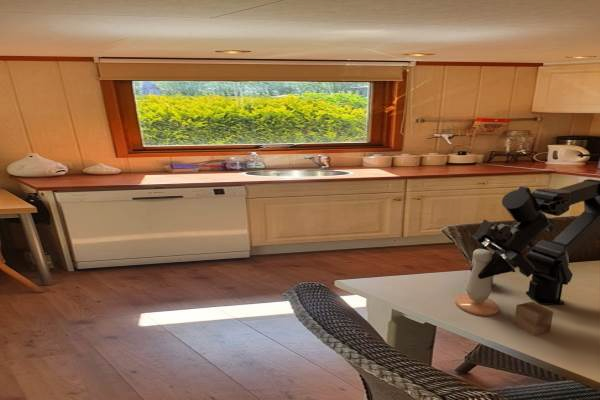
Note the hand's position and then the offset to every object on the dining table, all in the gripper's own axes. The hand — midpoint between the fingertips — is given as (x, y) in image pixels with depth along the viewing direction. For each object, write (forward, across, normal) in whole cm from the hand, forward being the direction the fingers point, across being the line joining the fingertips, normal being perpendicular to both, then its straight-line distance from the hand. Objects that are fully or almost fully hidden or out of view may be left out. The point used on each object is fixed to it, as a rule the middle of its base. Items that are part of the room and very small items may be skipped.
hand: (475, 274), depth 91 cm
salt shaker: (+4, 0, +6) cm, 7 cm away
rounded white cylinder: (0, -14, +13) cm, 19 cm away
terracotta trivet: (+5, 0, +7) cm, 9 cm away
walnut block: (0, +10, +12) cm, 16 cm away
